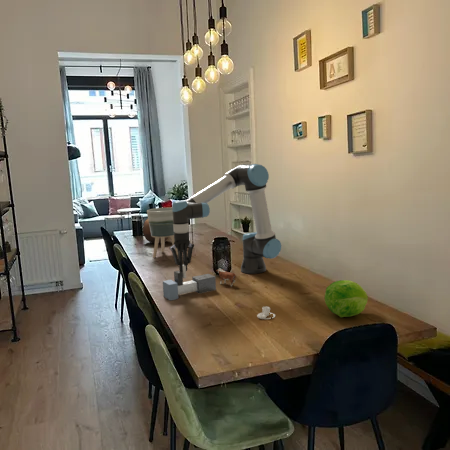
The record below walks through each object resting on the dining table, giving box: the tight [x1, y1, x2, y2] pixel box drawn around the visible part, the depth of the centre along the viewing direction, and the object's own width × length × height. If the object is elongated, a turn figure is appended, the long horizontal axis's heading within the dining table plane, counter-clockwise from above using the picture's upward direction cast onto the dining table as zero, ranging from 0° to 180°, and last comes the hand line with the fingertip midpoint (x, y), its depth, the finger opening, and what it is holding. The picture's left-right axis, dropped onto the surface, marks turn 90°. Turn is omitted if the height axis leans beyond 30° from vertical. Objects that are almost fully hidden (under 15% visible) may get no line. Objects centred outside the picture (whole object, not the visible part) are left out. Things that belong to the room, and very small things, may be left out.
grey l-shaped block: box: [173, 270, 198, 296], centre depth 224 cm, size 17×4×11 cm, turn 121°
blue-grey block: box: [162, 279, 179, 301], centre depth 220 cm, size 4×8×8 cm, turn 31°
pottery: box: [142, 218, 169, 244], centre depth 360 cm, size 23×23×25 cm
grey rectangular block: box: [191, 273, 217, 295], centre depth 230 cm, size 10×7×7 cm
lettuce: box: [324, 279, 369, 318], centre depth 187 cm, size 17×20×15 cm
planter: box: [146, 207, 178, 259], centre depth 314 cm, size 22×22×33 cm
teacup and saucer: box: [256, 305, 276, 320], centre depth 190 cm, size 9×8×4 cm
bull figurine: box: [216, 268, 237, 287], centre depth 239 cm, size 4×13×8 cm, turn 45°
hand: (183, 277), depth 223 cm, fingers closed
